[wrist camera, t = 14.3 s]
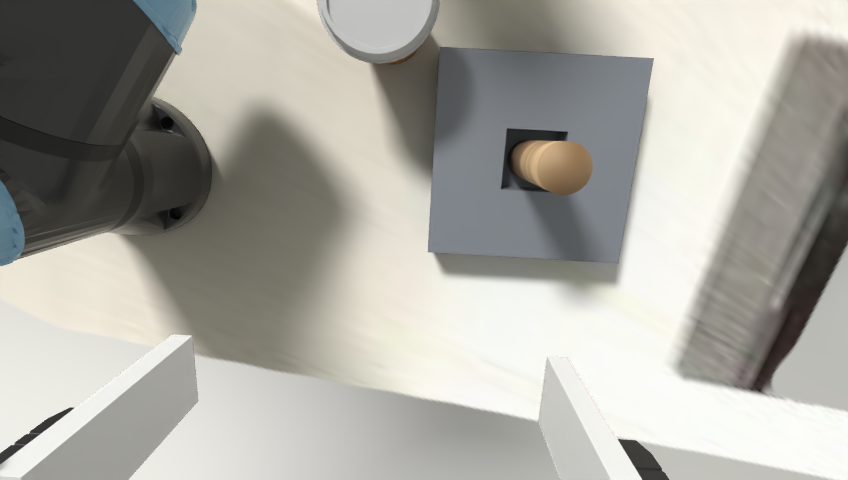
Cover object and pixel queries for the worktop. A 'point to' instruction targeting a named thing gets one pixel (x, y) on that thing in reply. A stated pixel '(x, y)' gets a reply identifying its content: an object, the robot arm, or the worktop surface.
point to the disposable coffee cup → (379, 27)
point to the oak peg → (551, 165)
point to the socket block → (533, 120)
